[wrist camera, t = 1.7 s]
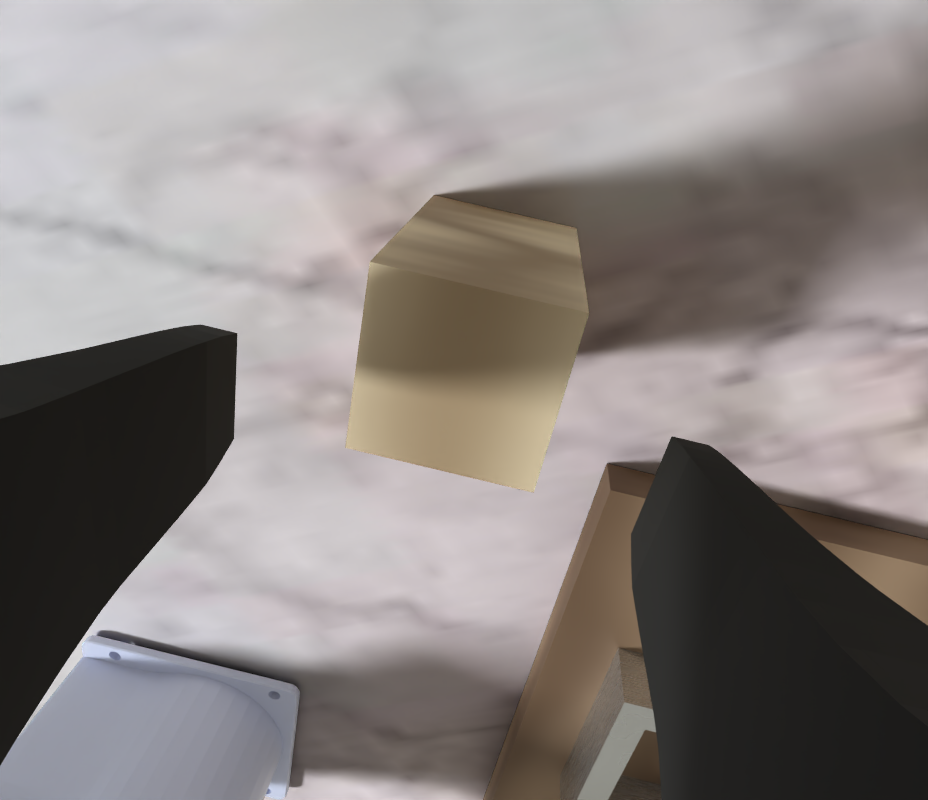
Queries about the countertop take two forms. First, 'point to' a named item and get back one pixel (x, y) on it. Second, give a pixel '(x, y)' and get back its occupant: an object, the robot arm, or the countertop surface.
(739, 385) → the countertop surface
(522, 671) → the countertop surface
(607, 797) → the square socket
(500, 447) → the maple peg
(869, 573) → the board
